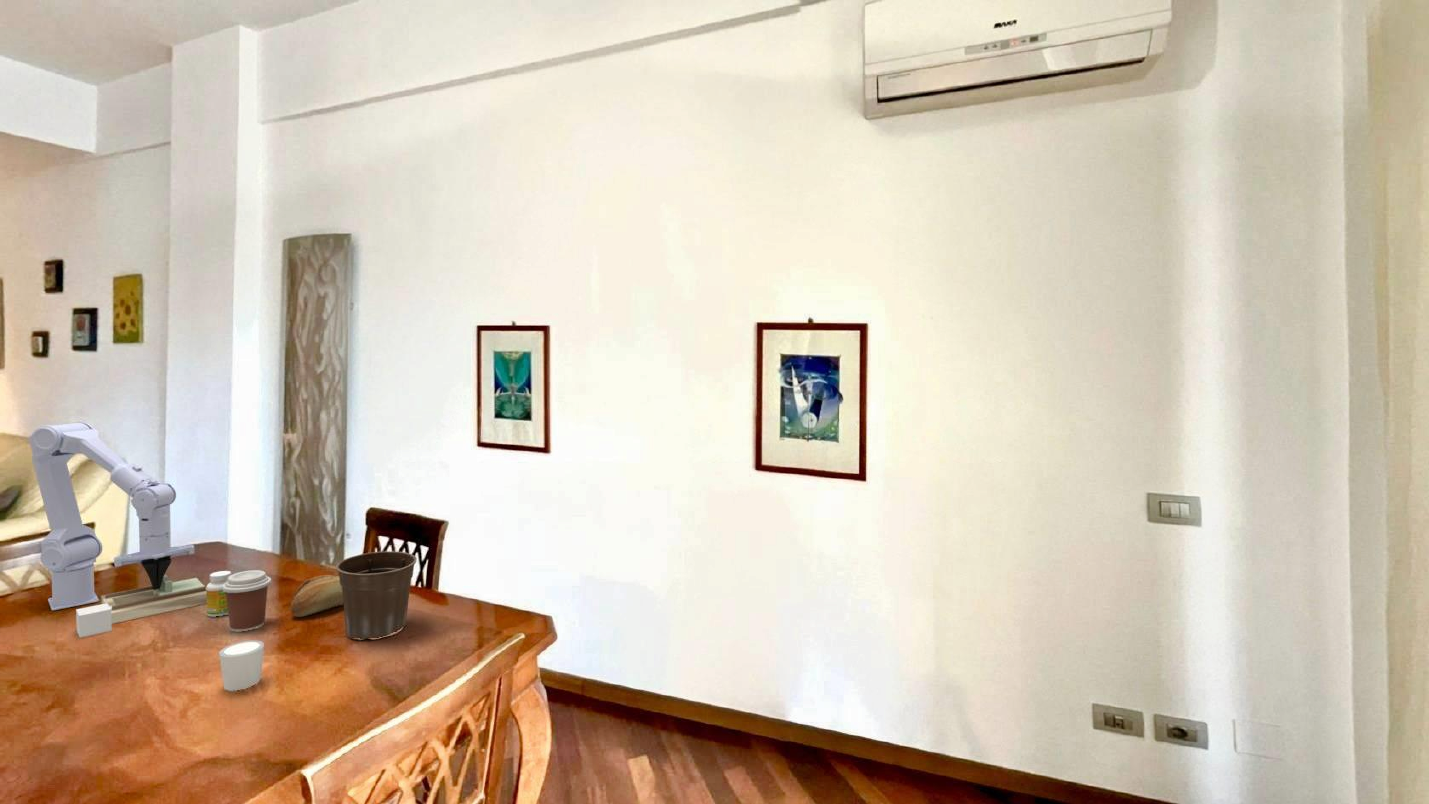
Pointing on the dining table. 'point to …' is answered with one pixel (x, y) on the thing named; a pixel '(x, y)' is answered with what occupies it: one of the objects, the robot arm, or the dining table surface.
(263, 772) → the dining table surface
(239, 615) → the coffee cup
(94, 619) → the grey block
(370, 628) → the plant pot
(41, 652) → the dining table surface
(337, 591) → the bread roll
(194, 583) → the cover
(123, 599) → the sliding lid box
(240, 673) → the white round tub
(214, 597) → the supplement bottle
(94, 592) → the robot arm
